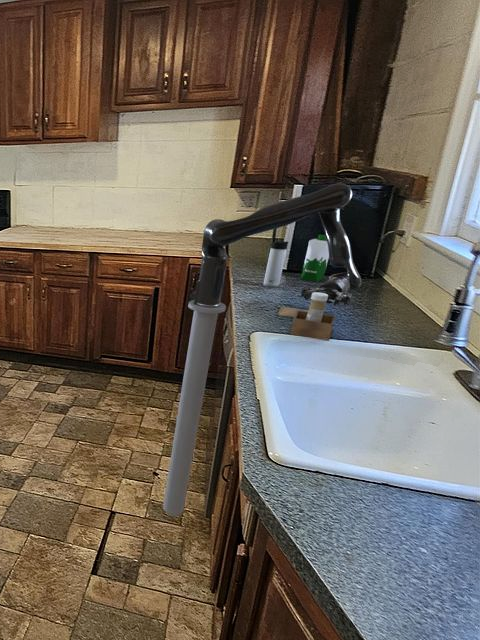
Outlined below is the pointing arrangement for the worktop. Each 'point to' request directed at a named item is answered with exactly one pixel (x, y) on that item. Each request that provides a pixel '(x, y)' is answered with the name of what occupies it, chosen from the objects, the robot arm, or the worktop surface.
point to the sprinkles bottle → (317, 306)
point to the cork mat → (288, 311)
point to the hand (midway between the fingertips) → (320, 299)
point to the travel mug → (275, 264)
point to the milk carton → (316, 259)
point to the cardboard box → (312, 326)
